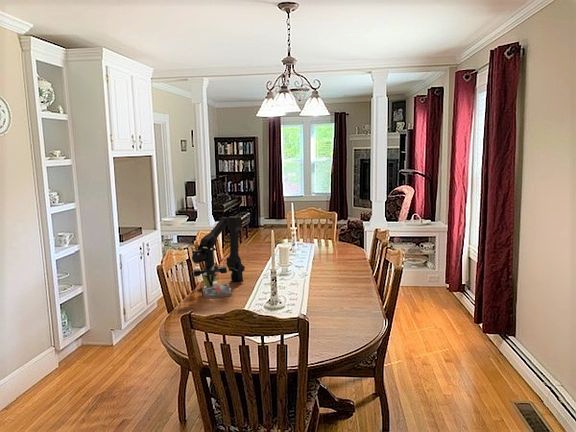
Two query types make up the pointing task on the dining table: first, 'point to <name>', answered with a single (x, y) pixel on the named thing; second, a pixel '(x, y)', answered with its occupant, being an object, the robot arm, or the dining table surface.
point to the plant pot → (207, 280)
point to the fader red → (218, 289)
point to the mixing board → (211, 292)
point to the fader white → (215, 284)
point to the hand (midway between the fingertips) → (211, 285)
